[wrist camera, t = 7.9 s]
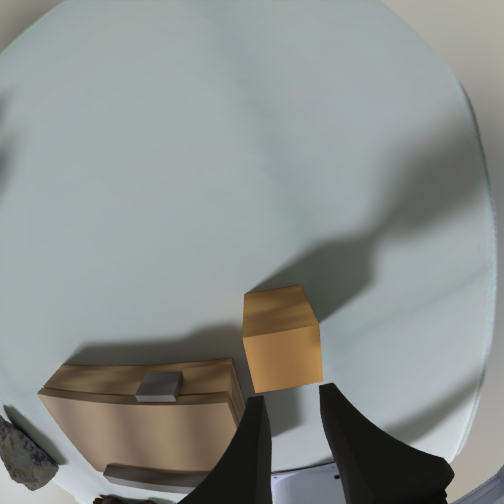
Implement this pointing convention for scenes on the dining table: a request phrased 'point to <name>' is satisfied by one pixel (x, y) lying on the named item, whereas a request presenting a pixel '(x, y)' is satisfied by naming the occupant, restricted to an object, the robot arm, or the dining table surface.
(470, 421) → the dining table surface
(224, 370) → the brown wooden open box
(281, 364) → the brown block
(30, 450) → the mineral rock
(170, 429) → the lid
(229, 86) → the dining table surface
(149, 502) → the bolt
